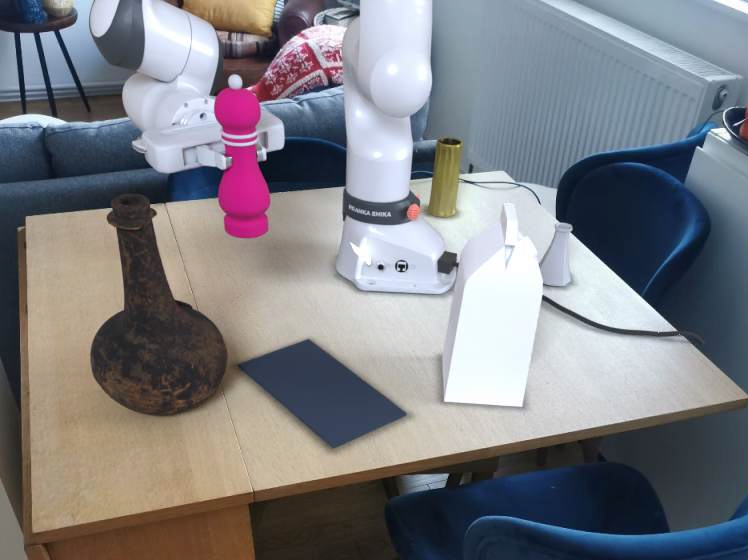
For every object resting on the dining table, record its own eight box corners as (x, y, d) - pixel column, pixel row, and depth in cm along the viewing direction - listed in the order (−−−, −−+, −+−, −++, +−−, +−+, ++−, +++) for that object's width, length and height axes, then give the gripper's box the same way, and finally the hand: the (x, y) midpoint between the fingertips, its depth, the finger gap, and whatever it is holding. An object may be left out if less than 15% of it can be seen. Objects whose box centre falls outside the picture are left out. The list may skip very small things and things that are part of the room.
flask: (528, 281, 140) (539, 229, 133) (537, 266, 145) (548, 214, 138) (566, 291, 138) (579, 238, 132) (574, 274, 143) (587, 223, 136)
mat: (238, 366, 114) (237, 364, 114) (308, 341, 121) (308, 338, 120) (333, 448, 101) (333, 446, 101) (406, 415, 108) (406, 412, 108)
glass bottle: (248, 373, 113) (233, 182, 94) (200, 445, 100) (172, 241, 81) (136, 353, 115) (100, 162, 96) (76, 420, 102) (20, 215, 83)
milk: (442, 357, 120) (463, 190, 102) (514, 362, 120) (549, 196, 102) (444, 401, 111) (468, 228, 93) (522, 406, 111) (561, 234, 93)
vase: (425, 215, 159) (432, 144, 149) (429, 204, 164) (436, 134, 154) (454, 219, 159) (463, 147, 149) (457, 208, 163) (466, 137, 153)
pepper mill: (262, 243, 106) (252, 85, 92) (213, 236, 107) (196, 79, 93) (278, 222, 111) (271, 70, 97) (231, 216, 112) (217, 64, 98)
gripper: (121, 117, 102) (171, 148, 94) (251, 94, 112) (305, 121, 104) (130, 165, 106) (178, 199, 99) (254, 139, 116) (306, 168, 109)
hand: (245, 159), depth 102 cm, fingers closed on pepper mill, 4 cm apart
